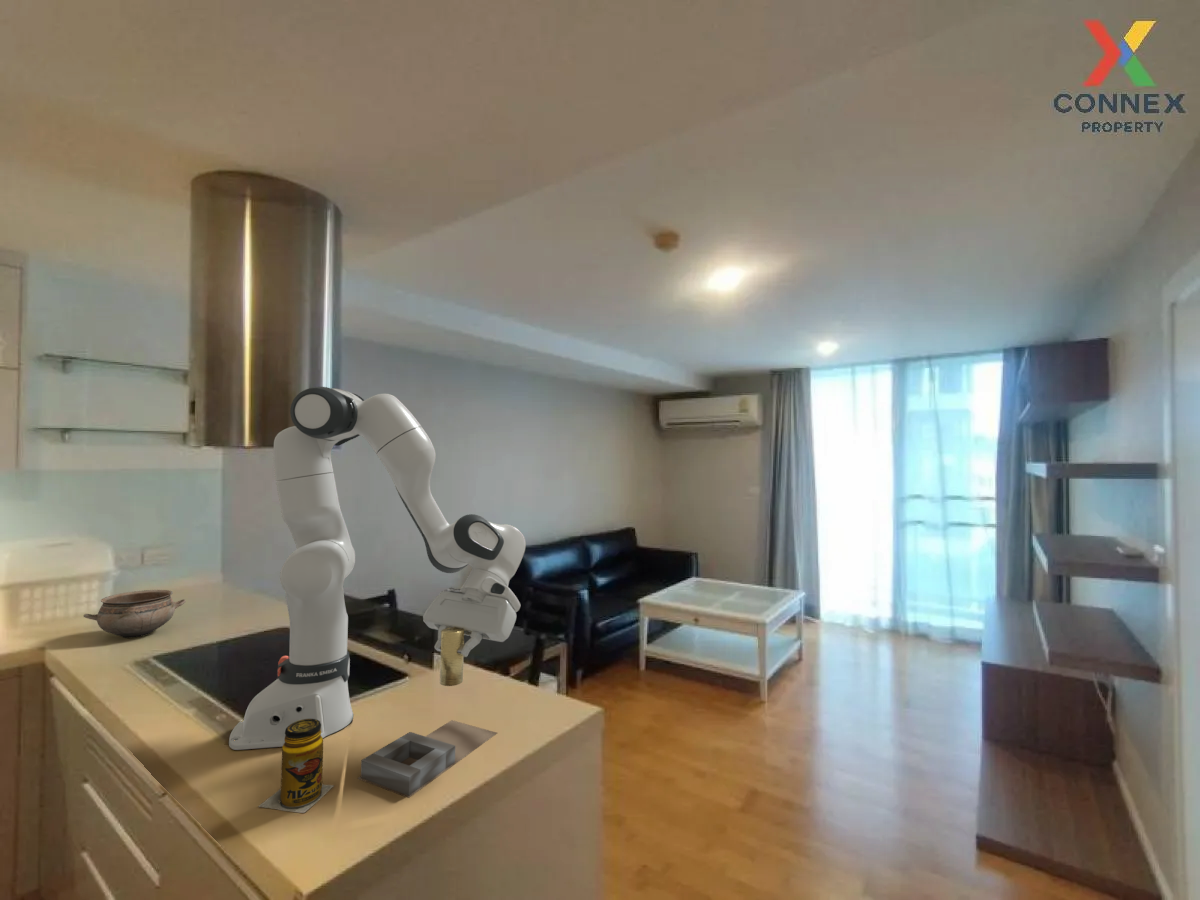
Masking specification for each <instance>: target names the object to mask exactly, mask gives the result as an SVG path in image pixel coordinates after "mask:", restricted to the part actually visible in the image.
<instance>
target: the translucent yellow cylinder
mask: <svg viewBox="0 0 1200 900" xmlns="http://www.w3.org/2000/svg"><path fill="white" fill-rule="evenodd" d="M461 644H465V635H464V629H461V628H455V627H450V628H445V629H443V630H442V631H441V651H440V659H439V660H440V662H439V663H440V665H439V684H440V685H441V686H445V687H455V686H458V685H460V684H462V683H463V681H464V658H465V657H464V656H460V655H459V654H458V653H457V651H458V649H459V648H460V645H461Z"/></svg>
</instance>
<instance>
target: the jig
mask: <svg viewBox="0 0 1200 900" xmlns="http://www.w3.org/2000/svg"><path fill="white" fill-rule="evenodd" d="M497 734H498V732H495V731H492V730H489V729H485V728H482V727H478V726H474V725H470V724H467V723H465V722H460V721H457V720H453V719H451V720H450V721H448V722H446V723H444V724H443V725H442V726H439V727H438V728H436V729H435V730H433V731H431V732H430V733H428V734H427V735H422V734H418V733H415V732H412V731H409V732H407V733H405V734H404V735H402V736H400V737H399V738H397V739H396V740H394V741H392V742H390V743H388V744H386V745H384V746H383V747H381V748H379V749H378V750H376V751H374V752H373V753H371V754H369V755H368V756H366V757H365V758H363V759H361V760H360V761H361V762H360V764H361V765H360V776H359V777H358V778H356V779H358V780H360V781H363V782H366V783H369V784H370V785H372V786H376V787H379V788H382V789H385V791H386V790H387V791H389V792H392V793H395V794H397V795H400V796H403V797H405V798H407V799H410V798H412V797H413V796H414V795H415V794H416V793H418V792H420V791H421V790H422V789H423V788H425V787H426V786H427V785H429V784H430V783H432V782H433V781H434V780H436V779H437V778H438V777H440V776H441V775H443V774H444V773H445V772H447V771H448V770H449V769H451V768H452V767H453V766H455V765H456V764H458V763H459V762H461V761H462V760H463V759H464V758H466V757H467V756H468V755H470V754H471V753H473V752H474V751H475V750H477V749H478V748H479V747H481V746H482V745H483V744H486V742H488V741H489V740H491V738H493V737H494V736H496V735H497Z"/></svg>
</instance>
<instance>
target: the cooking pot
mask: <svg viewBox="0 0 1200 900" xmlns="http://www.w3.org/2000/svg"><path fill="white" fill-rule="evenodd" d="M171 595H173V591H172V590H168V589H147V590H137V591H135V590H134V591H128V592H123V593H117V594H113V595H112V594H111V595H109V596H108V595H107V596H106V597H103V598H101V599H100V602H101V603H102V604H101V606H100V608H99V610H98V613H97V614H95V613H94V614H91V613H84V614H83V618H86V619H88V620H93V621H96V622H97V625H98V627H99V628H100V629H101V630H103V631H105V632H107V633H109V634H112V635H116V636H118V637H122V638H125V639H126V638H127V639H130V638H138V637H139V638H140V637H143V636H144V637H145V636H147V635H150V634H151V633H152V632H154V631H156V630H157V629H160V627H161V628H162V626H164V625H166V624H167V623H168V622H169V621H170V620H171V619H172V617H173V616H174V613H175V611H176V609H178V608H179V607H181V606H182V605H184V604H185V603H186V602H187V600H186V599H180V600H177V601H174V600H173V597H172V596H171Z"/></svg>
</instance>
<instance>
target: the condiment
mask: <svg viewBox="0 0 1200 900" xmlns="http://www.w3.org/2000/svg"><path fill="white" fill-rule="evenodd" d="M284 740H285V743H284V745H283V746H281V747H282V748H281V767H280V769H281V770H280V771H281V772H280V773H281V774H280V775H281V777H280V789H278V790H277V791H276V792H274V793H273V794H272V795H271V796H270V797H268V798H267V799H266V800H265V801H263V802H262V803H260V804H259V805H258V806H257V807H258V808H264V809H273V810H274V809H275V810H279V811H282V812H283V811H284V812H292V813H298V814H299V813H301V814H304V813H306V812H307V811H308V810H310V809H311V808H312V807H313V806H315V804H316V803H318V802H319V801H320V800H321V799H322V798H323V797H324V796H325V795H326V794H328V793H329V791H330V790H331V789H332V788H334V787H335V785H334V784H324V783H323V774H324V773H323V770H324V767H323V766H324V764H323V762H324V760H323V759H324V754H323V753H324V738H322V736H321V723H320V721H319V720H316V719H303V720H299V721H297V722H294V723H292V724H290V725H289V726H288V727H287V728H286V730H285V739H284Z"/></svg>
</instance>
